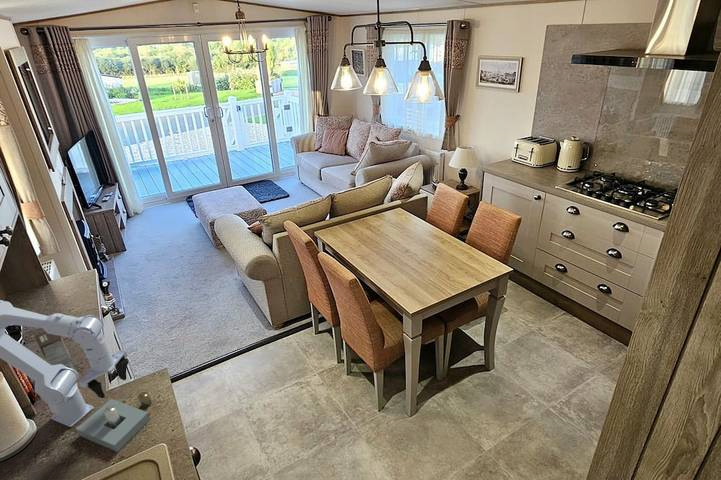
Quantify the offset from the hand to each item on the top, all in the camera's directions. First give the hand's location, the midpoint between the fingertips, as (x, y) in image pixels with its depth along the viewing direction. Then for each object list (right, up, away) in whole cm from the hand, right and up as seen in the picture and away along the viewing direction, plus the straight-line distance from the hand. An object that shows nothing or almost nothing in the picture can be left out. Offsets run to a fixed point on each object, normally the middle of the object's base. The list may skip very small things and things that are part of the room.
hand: (112, 387), depth 127 cm
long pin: (+3, -12, -2) cm, 12 cm away
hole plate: (+2, -11, -2) cm, 12 cm away
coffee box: (-30, -2, +21) cm, 36 cm away
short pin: (+8, -7, +5) cm, 12 cm away
